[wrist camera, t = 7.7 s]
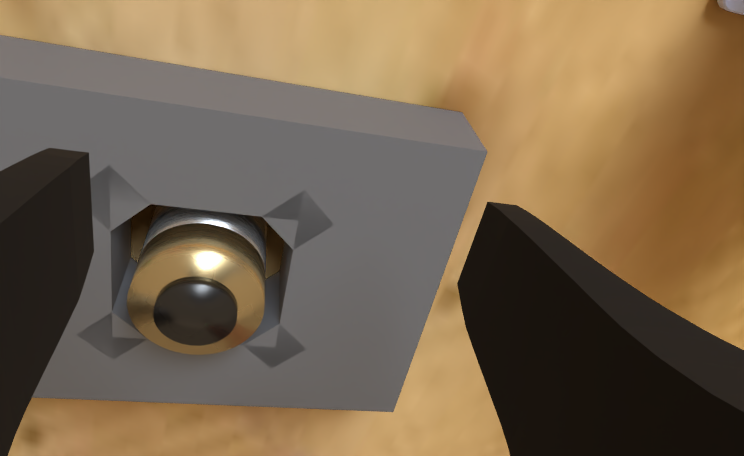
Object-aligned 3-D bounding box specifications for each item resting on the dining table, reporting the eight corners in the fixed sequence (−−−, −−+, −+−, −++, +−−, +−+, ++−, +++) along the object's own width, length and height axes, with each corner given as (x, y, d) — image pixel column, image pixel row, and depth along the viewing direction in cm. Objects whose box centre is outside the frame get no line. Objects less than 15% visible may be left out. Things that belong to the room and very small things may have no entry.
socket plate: (462, 112, 20) (487, 151, 18) (382, 357, 27) (393, 412, 24) (-66, 24, 17) (-126, 58, 14) (-13, 333, 23) (-48, 394, 20)
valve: (267, 177, 21) (264, 262, 17) (266, 267, 23) (263, 362, 19) (148, 173, 20) (115, 262, 16) (159, 266, 22) (132, 365, 18)
